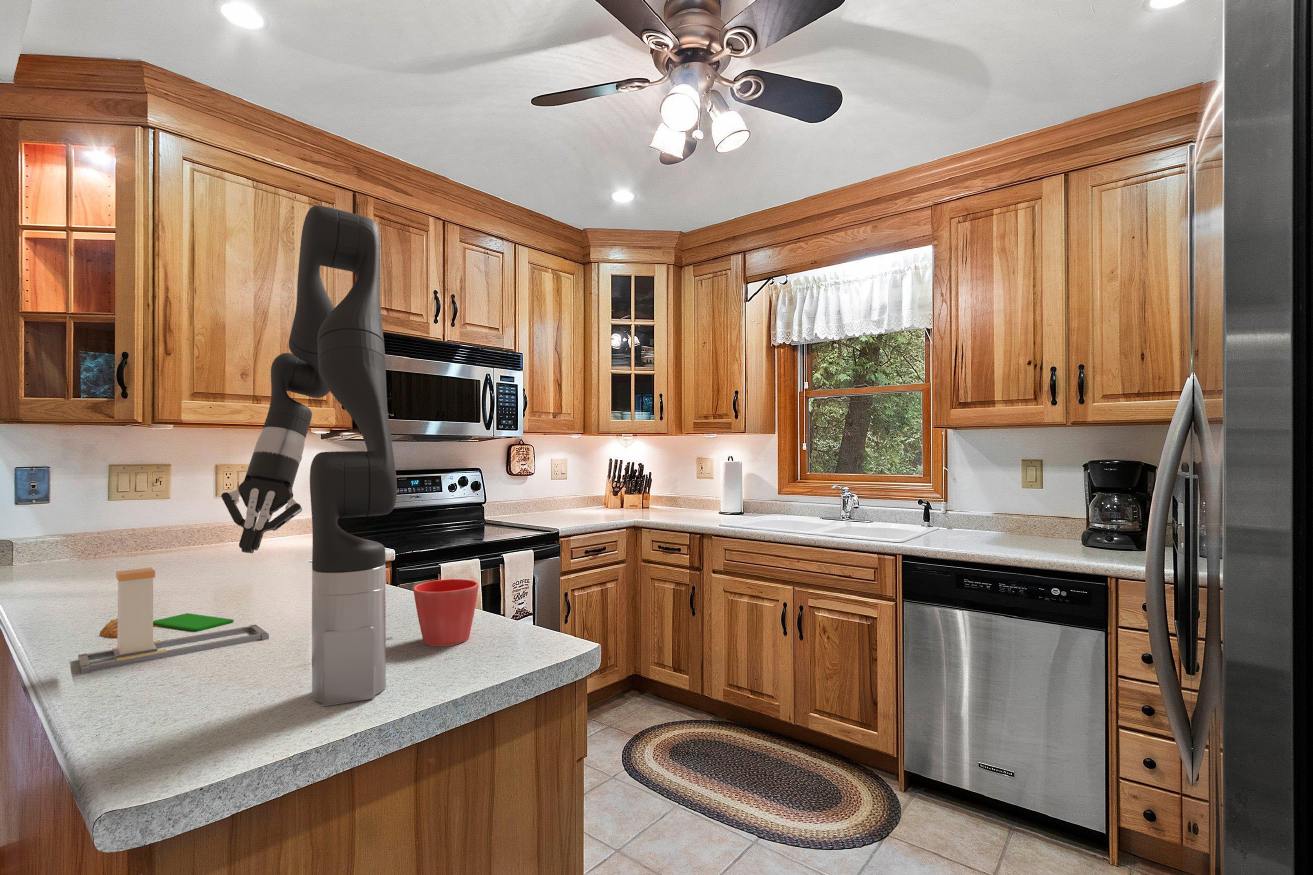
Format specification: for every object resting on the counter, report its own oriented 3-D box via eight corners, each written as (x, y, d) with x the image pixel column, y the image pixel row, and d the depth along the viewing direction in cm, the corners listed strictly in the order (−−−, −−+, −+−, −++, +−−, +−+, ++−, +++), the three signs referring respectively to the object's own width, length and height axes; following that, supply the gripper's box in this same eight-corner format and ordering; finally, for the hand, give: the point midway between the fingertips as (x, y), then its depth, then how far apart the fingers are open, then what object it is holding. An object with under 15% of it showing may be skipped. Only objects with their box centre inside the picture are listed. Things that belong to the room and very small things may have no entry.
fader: (153, 649, 105) (153, 567, 105) (157, 656, 101) (157, 570, 102) (113, 656, 102) (113, 571, 102) (116, 663, 98) (116, 575, 98)
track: (255, 636, 117) (255, 623, 117) (268, 646, 110) (268, 632, 110) (78, 668, 100) (78, 653, 100) (81, 683, 94) (81, 666, 94)
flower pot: (482, 644, 110) (481, 587, 111) (414, 652, 106) (413, 593, 107) (475, 628, 120) (475, 576, 121) (413, 635, 116) (412, 581, 117)
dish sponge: (195, 642, 115) (195, 628, 115) (147, 634, 121) (147, 621, 121) (234, 631, 122) (234, 619, 122) (188, 624, 127) (188, 612, 127)
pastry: (149, 643, 115) (148, 621, 115) (98, 651, 110) (98, 628, 110) (146, 632, 122) (146, 611, 122) (99, 639, 117) (99, 618, 117)
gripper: (230, 443, 111) (196, 542, 105) (314, 458, 115) (286, 554, 109) (240, 456, 118) (208, 550, 111) (319, 469, 122) (293, 560, 115)
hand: (247, 552), depth 110 cm, fingers closed
